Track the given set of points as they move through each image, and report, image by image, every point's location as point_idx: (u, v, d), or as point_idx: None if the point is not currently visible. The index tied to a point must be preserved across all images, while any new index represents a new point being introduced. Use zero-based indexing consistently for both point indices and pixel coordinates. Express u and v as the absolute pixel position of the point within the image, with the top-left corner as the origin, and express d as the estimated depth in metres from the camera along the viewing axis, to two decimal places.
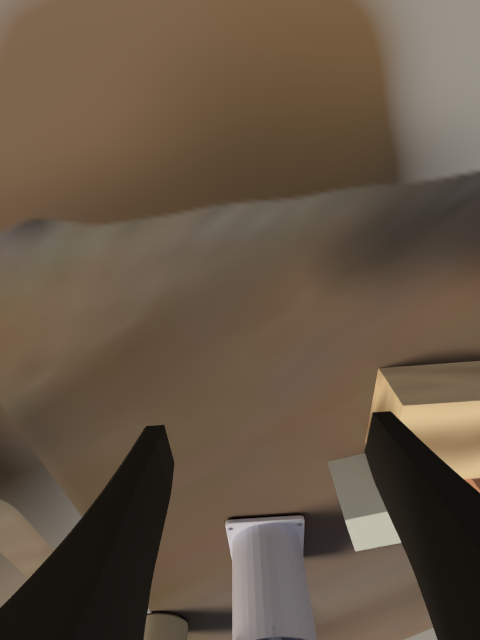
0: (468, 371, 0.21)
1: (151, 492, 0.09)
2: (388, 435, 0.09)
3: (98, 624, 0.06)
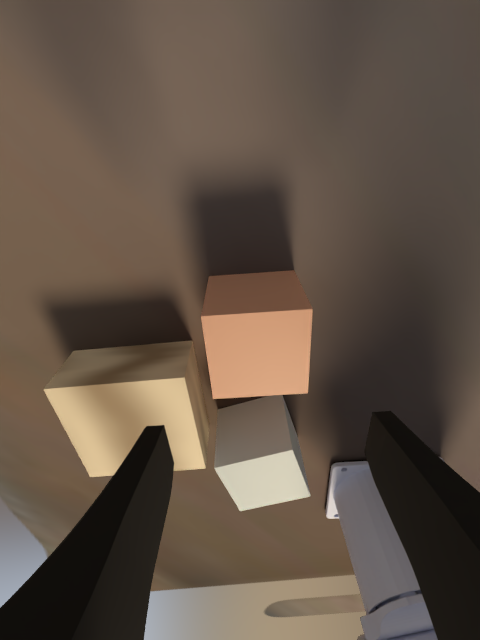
0: None
1: (151, 492, 0.09)
2: (388, 435, 0.09)
3: (99, 624, 0.06)
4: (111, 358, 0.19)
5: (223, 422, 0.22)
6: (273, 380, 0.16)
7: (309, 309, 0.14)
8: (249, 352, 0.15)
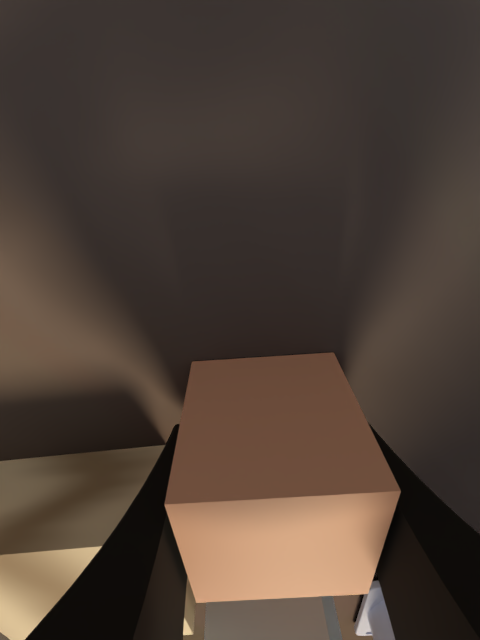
0: None
1: None
2: None
3: (152, 622, 0.06)
4: (36, 484, 0.12)
5: None
6: (307, 582, 0.08)
7: (393, 490, 0.07)
8: (264, 550, 0.08)
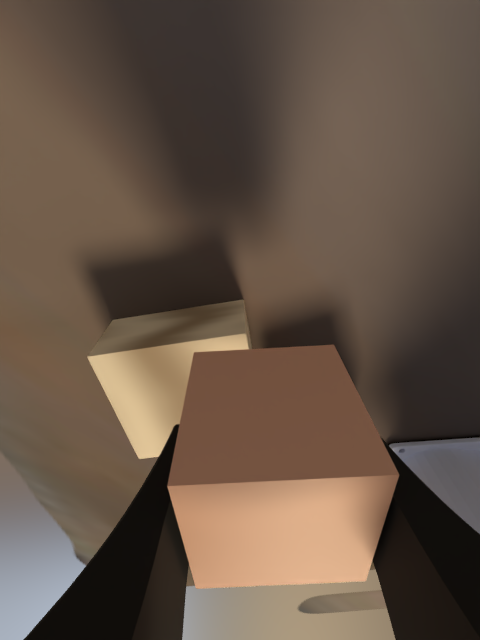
0: None
1: None
2: None
3: (151, 621, 0.06)
4: (156, 323, 0.17)
5: None
6: (306, 568, 0.09)
7: (392, 474, 0.07)
8: (264, 534, 0.08)
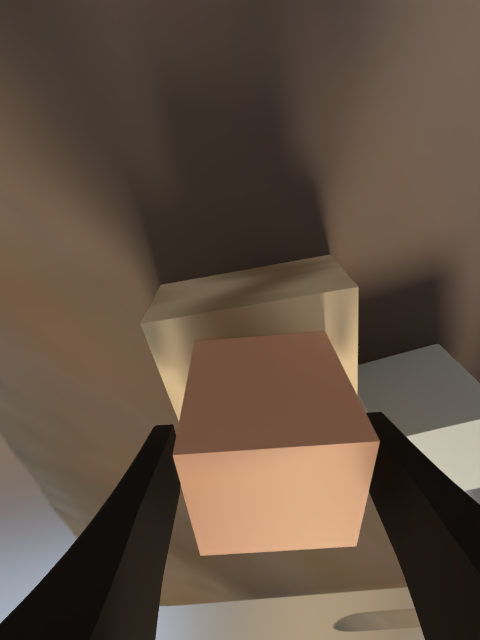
0: None
1: (162, 491, 0.09)
2: (378, 436, 0.09)
3: (115, 623, 0.06)
4: (221, 284, 0.13)
5: (364, 383, 0.16)
6: (300, 533, 0.09)
7: (373, 441, 0.07)
8: (261, 500, 0.09)
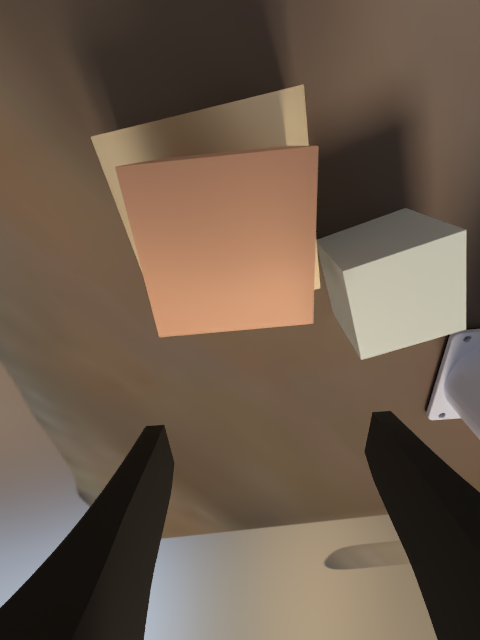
0: None
1: (151, 492, 0.09)
2: (388, 435, 0.09)
3: (99, 624, 0.06)
4: None
5: (331, 244, 0.16)
6: (255, 300, 0.09)
7: (312, 147, 0.08)
8: (210, 245, 0.09)
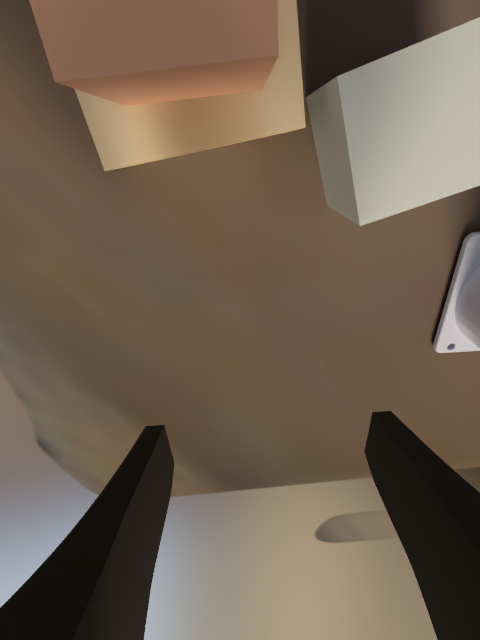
0: None
1: (151, 492, 0.09)
2: (388, 435, 0.09)
3: (99, 624, 0.06)
4: None
5: None
6: None
7: None
8: None
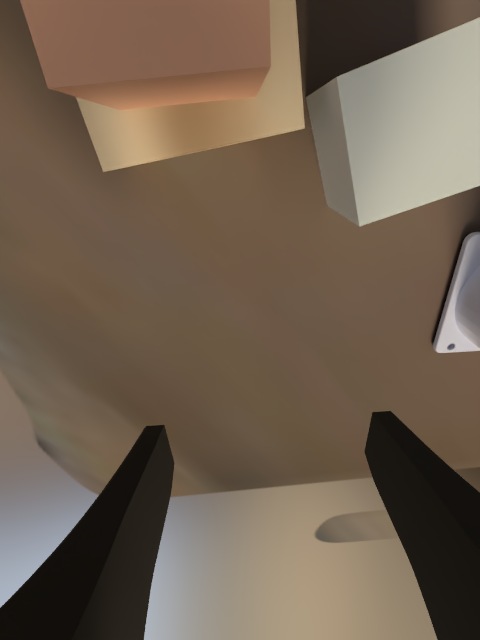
0: None
1: (151, 492, 0.09)
2: (388, 435, 0.09)
3: (99, 624, 0.06)
4: None
5: None
6: (181, 9, 0.06)
7: None
8: None
